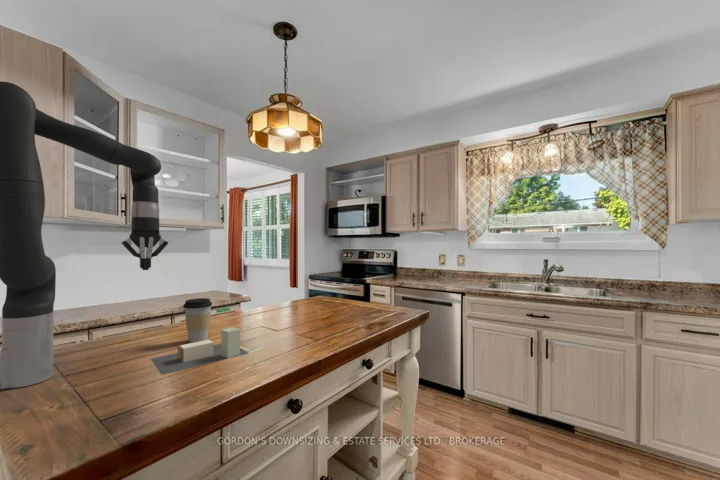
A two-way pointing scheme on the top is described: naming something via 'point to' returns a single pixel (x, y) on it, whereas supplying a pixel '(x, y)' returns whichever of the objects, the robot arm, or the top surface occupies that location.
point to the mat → (173, 364)
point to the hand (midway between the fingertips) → (145, 269)
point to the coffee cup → (197, 318)
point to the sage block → (230, 342)
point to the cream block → (195, 350)
